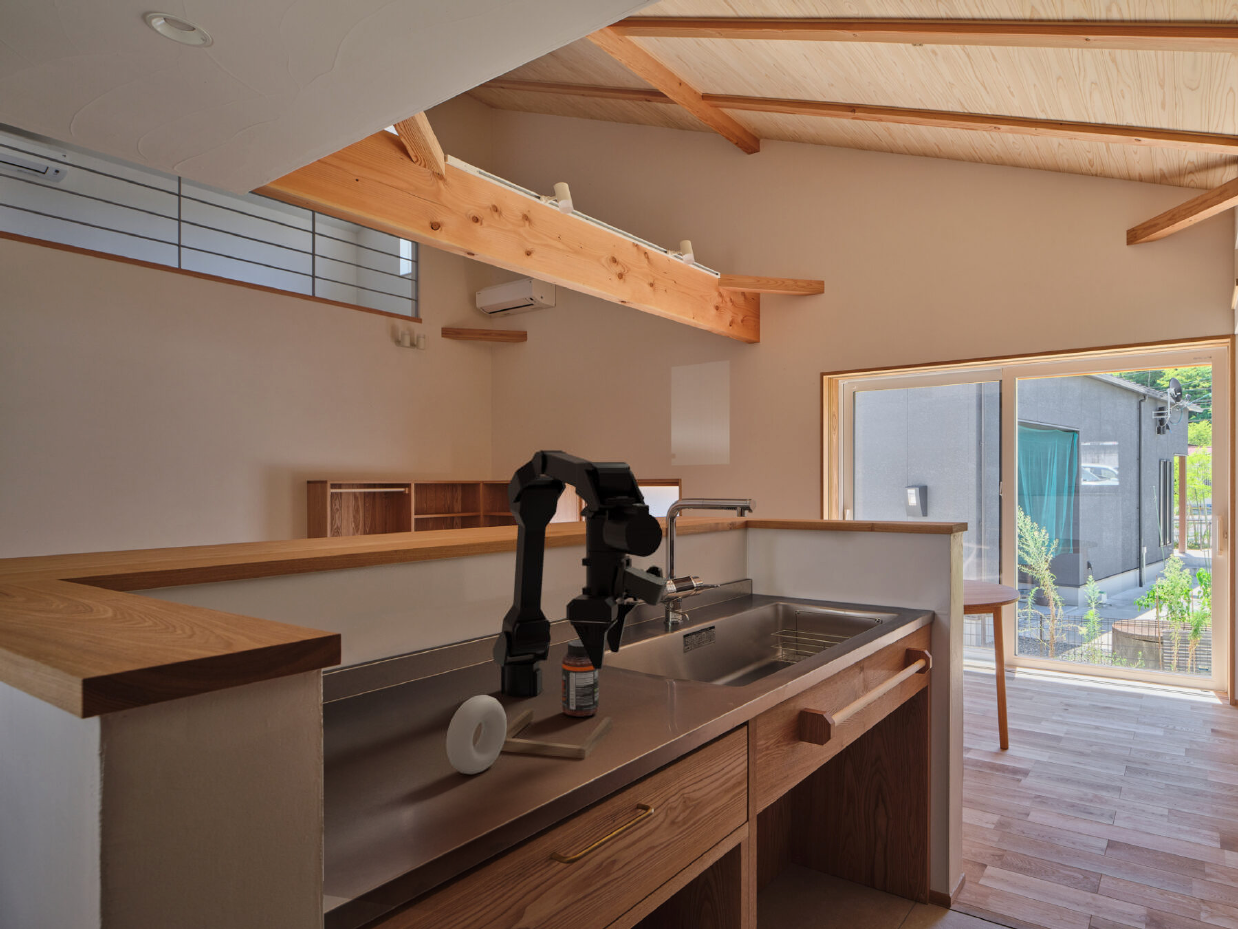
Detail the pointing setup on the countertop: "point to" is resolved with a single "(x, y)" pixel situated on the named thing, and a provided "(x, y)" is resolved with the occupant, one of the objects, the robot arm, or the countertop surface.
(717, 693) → the countertop surface
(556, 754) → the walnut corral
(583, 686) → the supplement bottle
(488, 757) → the donut
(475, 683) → the countertop surface
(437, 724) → the countertop surface
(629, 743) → the countertop surface
